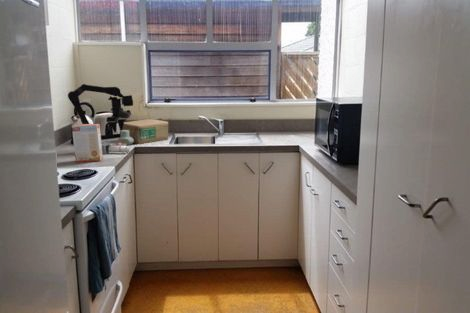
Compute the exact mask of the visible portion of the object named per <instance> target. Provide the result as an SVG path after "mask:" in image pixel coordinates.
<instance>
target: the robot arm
mask: <svg viewBox="0 0 470 313" xmlns="http://www.w3.org/2000/svg"><path fill="white" fill-rule="evenodd" d="M84 92H94V93H101V94H103V93H104V94H107V95H110V96H109V97H108V98H107V100H108V101H110V102H111V108H110V111H112V112H111V116H107V117H106V122H107V123H108V124H109V125H110V127H111V129H112V130H113V132H114V133H117V130H118V129H117V128H118V127H119V129H120V131H121V130H123V125H124V122H126V121H127V119H130V117H131V115H132V113H131V112H132V111H131V110H129V109H127V110H124V108H123V107H133V106H134V100H133V96H132V95H131V94H129V95H124V94H122V93H121V89H120V88H119V86H118V87H117V86H98V85H93V84H92V85H91V84H85V83H83V84H81V85H80V86H79V87H77V88H76V89H74V90H71V91H69V92H68V94H67V98H68V99H69V101H70V103H71V104H72V105H73V107H74V108H75V110H76V113H77V115H78V117H79V119H80V121H81V124H90V123H89V120H88V119H87V117H86V114H85V112H84V110H83V107H82V105H81V102H80V96H81V95H82V94H83V93H84ZM112 96H113V97H112ZM122 106H123V107H122ZM117 125H118V127H117Z"/></svg>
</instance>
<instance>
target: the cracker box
mask: <svg viewBox="0 0 470 313" xmlns="http://www.w3.org/2000/svg"><path fill="white" fill-rule="evenodd" d="M71 130H72V142H73V149H74V157H75V158H74V159H75V160H74V161H75V162H76V163H84V162H86V163H87V162H101V161H102V160H103V159H104V156H103V155H104V154H102V144H101V143H102V136H101V134H102V133H101V126H100V123H89V124H82V123H79V124H73V125H71Z"/></svg>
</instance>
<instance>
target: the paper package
mask: <svg viewBox="0 0 470 313" xmlns="http://www.w3.org/2000/svg"><path fill="white" fill-rule="evenodd" d="M123 130H129V134H130V137H132V138H133V139H134V142H133V143H132V144H133V145H138V144H139V145H143V144H144V143H145V144H149V143H156V142H160V141H164V140H168V139H169V121H167V120H166V121H165V120H161V119H155V118H154V119H151V118H147V119H140V120H133V121H125V122H124V125H123ZM120 131H122V130H121V129H120Z"/></svg>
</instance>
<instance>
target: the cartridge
mask: <svg viewBox="0 0 470 313" xmlns="http://www.w3.org/2000/svg"><path fill="white" fill-rule="evenodd" d="M130 151H131V147H130V145H128V146H112V145H110V146H109V153H130Z"/></svg>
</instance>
